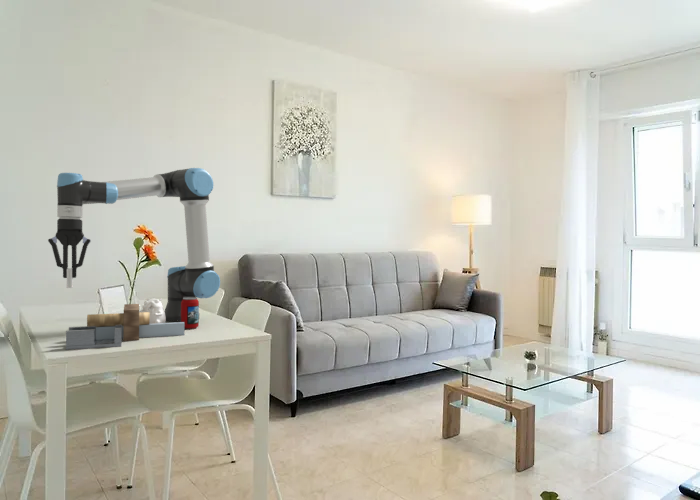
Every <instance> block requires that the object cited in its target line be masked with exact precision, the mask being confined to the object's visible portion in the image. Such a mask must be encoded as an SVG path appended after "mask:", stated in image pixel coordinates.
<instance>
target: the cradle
mask: <svg viewBox="0 0 700 500" xmlns="http://www.w3.org/2000/svg"><path fill="white" fill-rule="evenodd" d="M122 342H123V339H122V325H115V339H100V340H96V326H87V325H86V326H69V327H68V330H66V331H65V350H66V351H69V349H71V350H84V349H86V350H87V349H98V348H99V349H100V348H101V349H102V348H116V347H117V348H118V347H122V344H123V343H122Z"/></svg>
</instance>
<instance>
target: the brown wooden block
mask: <svg viewBox="0 0 700 500" xmlns="http://www.w3.org/2000/svg"><path fill="white" fill-rule="evenodd" d="M139 312H140V303H128V304H127V303H126V304H124V306H123V313H124V332H123V339H122V342H129V341H130V342H131V341H140V338H139Z"/></svg>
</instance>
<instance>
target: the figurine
mask: <svg viewBox="0 0 700 500" xmlns="http://www.w3.org/2000/svg"><path fill="white" fill-rule="evenodd" d="M162 300H163V299H162V298H159V299H158V298H155V297H153V298H146V299H145V301H144V303H143V305H142V309H141V310H139V313H141V312H149V313H150V324H155V323H167V321H166V315H165V309H164V306H163V303H162Z"/></svg>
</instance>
